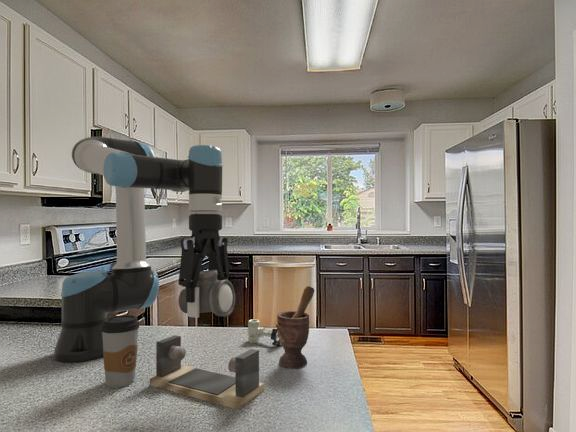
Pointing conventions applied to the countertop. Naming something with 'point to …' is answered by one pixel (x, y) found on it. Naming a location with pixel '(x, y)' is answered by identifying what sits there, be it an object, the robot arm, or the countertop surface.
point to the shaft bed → (207, 376)
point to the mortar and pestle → (294, 332)
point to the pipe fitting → (212, 295)
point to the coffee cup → (120, 349)
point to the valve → (261, 333)
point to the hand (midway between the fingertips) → (205, 312)
